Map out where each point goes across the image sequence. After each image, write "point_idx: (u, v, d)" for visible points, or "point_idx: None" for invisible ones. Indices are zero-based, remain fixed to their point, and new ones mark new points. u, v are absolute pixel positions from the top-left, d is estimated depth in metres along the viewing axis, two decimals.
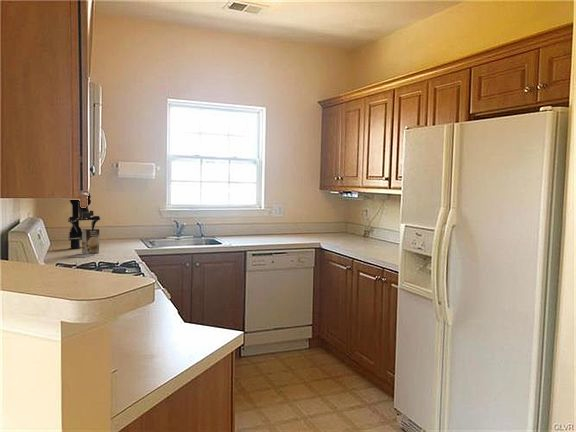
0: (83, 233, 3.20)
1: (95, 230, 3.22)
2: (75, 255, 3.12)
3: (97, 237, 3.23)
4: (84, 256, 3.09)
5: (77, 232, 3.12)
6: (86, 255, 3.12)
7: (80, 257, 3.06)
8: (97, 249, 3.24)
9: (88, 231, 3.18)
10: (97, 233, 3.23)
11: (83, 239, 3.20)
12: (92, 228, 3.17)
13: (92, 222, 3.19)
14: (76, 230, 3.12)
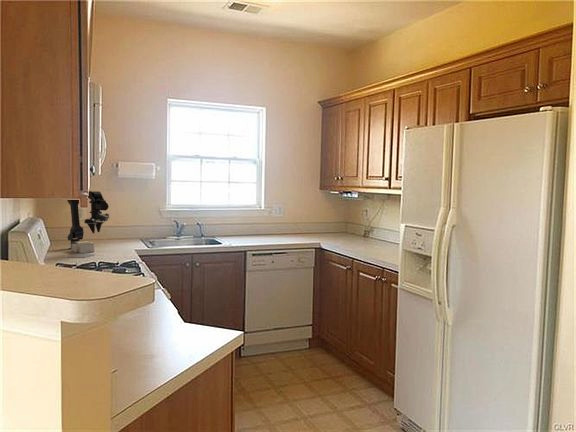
0: (72, 248, 3.31)
1: None
2: (75, 255, 3.12)
3: (85, 241, 3.34)
4: (84, 256, 3.09)
5: None
6: (86, 255, 3.12)
7: (80, 257, 3.06)
8: (90, 242, 3.29)
9: None
10: (83, 241, 3.36)
11: (75, 248, 3.28)
12: (99, 229, 3.33)
13: (98, 223, 3.33)
14: (93, 231, 3.26)
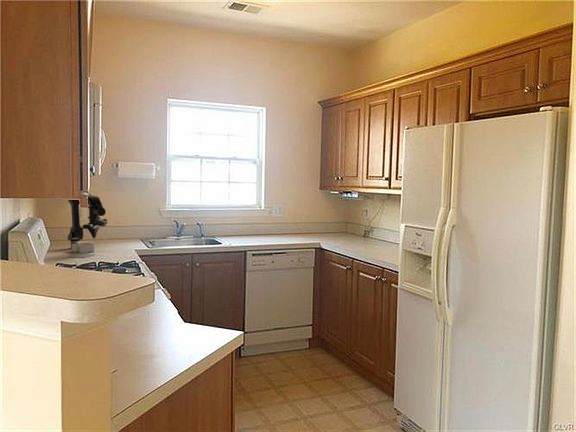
0: (72, 248, 3.31)
1: None
2: (75, 255, 3.12)
3: (85, 241, 3.34)
4: (84, 256, 3.09)
5: None
6: (86, 255, 3.12)
7: (80, 257, 3.06)
8: (90, 242, 3.29)
9: None
10: (83, 241, 3.36)
11: (75, 248, 3.28)
12: (95, 235, 3.27)
13: None
14: (93, 236, 3.27)
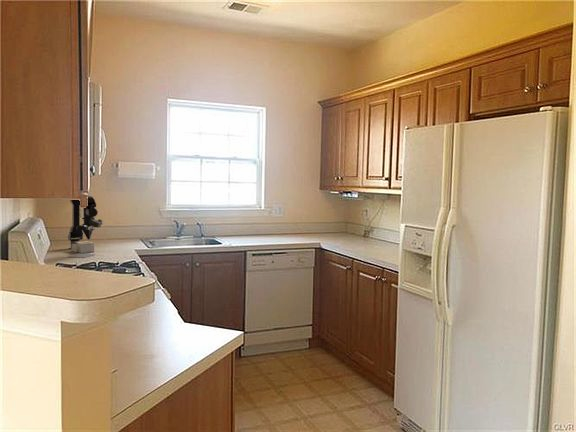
0: (72, 248, 3.31)
1: None
2: (75, 255, 3.12)
3: (85, 241, 3.34)
4: (84, 256, 3.09)
5: (88, 239, 3.20)
6: (86, 255, 3.12)
7: (80, 257, 3.06)
8: (90, 242, 3.29)
9: None
10: (83, 241, 3.36)
11: (75, 248, 3.28)
12: (90, 236, 3.20)
13: None
14: (88, 237, 3.20)
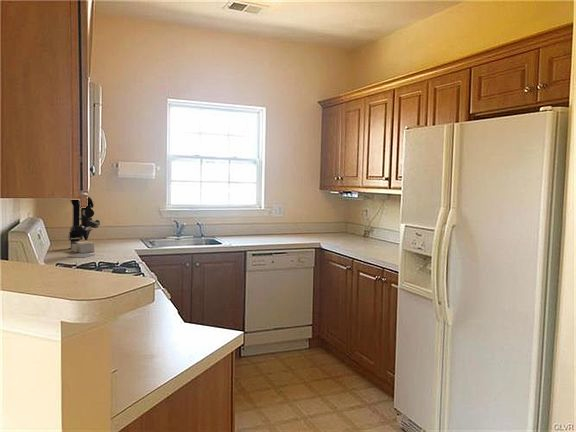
0: (72, 248, 3.31)
1: None
2: (75, 255, 3.12)
3: (85, 241, 3.34)
4: (84, 256, 3.09)
5: None
6: (86, 255, 3.12)
7: (80, 257, 3.06)
8: (90, 242, 3.29)
9: None
10: (83, 241, 3.36)
11: (75, 248, 3.28)
12: (87, 237, 3.18)
13: None
14: (85, 238, 3.17)
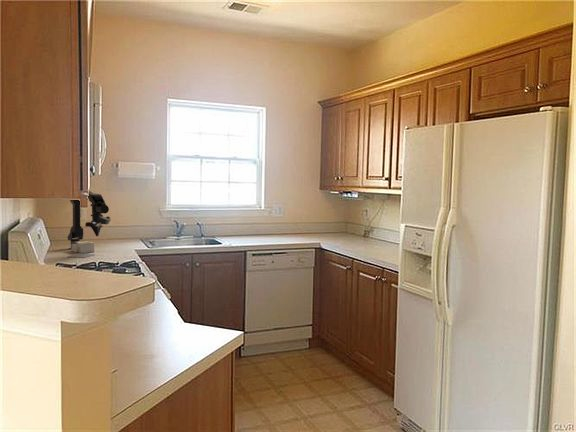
0: (72, 248, 3.31)
1: None
2: (75, 255, 3.12)
3: (85, 241, 3.34)
4: (84, 256, 3.09)
5: None
6: (86, 255, 3.12)
7: (80, 257, 3.06)
8: (90, 242, 3.29)
9: None
10: (83, 241, 3.36)
11: (75, 248, 3.28)
12: (98, 233, 3.26)
13: None
14: (96, 234, 3.25)
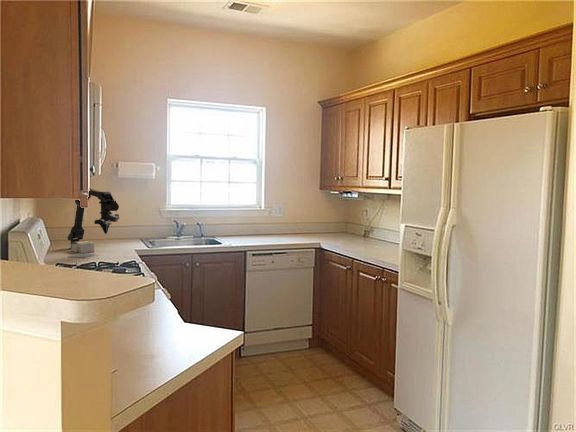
0: (72, 248, 3.31)
1: None
2: (75, 255, 3.12)
3: (85, 241, 3.34)
4: (84, 256, 3.09)
5: (105, 233, 3.25)
6: (86, 255, 3.12)
7: (80, 257, 3.06)
8: (90, 242, 3.29)
9: None
10: (83, 241, 3.36)
11: (75, 248, 3.28)
12: (107, 230, 3.25)
13: None
14: (105, 231, 3.24)
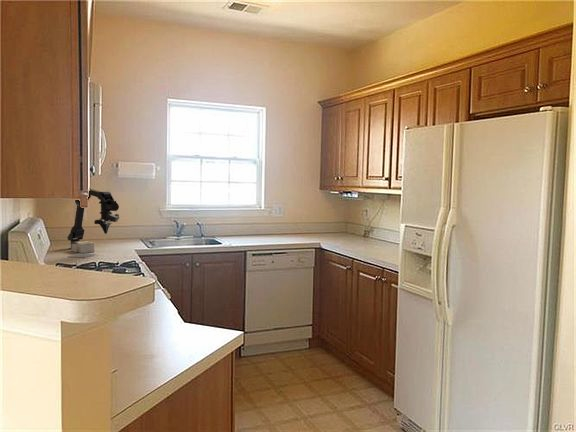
0: (72, 248, 3.31)
1: None
2: (75, 255, 3.12)
3: (85, 241, 3.34)
4: (84, 256, 3.09)
5: (105, 233, 3.25)
6: (86, 255, 3.12)
7: (80, 257, 3.06)
8: (90, 242, 3.29)
9: None
10: (83, 241, 3.36)
11: (75, 248, 3.28)
12: (107, 230, 3.25)
13: None
14: (105, 231, 3.24)
